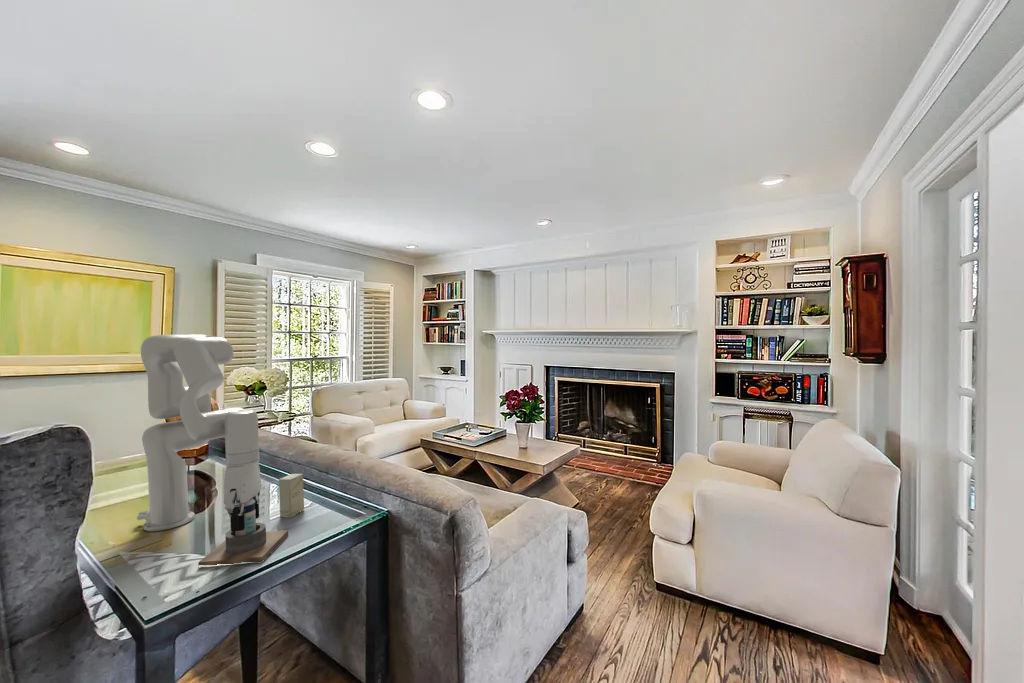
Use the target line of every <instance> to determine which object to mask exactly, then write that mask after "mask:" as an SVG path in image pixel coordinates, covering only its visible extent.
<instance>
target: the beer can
mask: <svg viewBox="0 0 1024 683" xmlns="http://www.w3.org/2000/svg"><path fill="white" fill-rule="evenodd" d="M235 503H240V501H235ZM235 508H237V509H238V510H239V506H235ZM243 514H244V516H245V529H244V530H243V531H235V536H243V535H247V534H250V533H253V532H255V531H256V523H257V519H256V511H255V500H254V499H253V498H251V499H250V500H249V501H247V502H246V503H244V509H243Z"/></svg>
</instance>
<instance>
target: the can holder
mask: <svg viewBox="0 0 1024 683" xmlns="http://www.w3.org/2000/svg"><path fill="white" fill-rule="evenodd" d="M288 536H289V530H287V529H285V530H275V531H274V530H273V531H267V526H266V524H265V523H264V522H262V523H261V522H256V531H255V532H253V533H250V534H247V535H243V536H235V531H231V529H229V530H228V531H227V532H226V533H225V535H224V537H225V538H224V539H225V540H224V541H223V542H222V543H220V544H219V545H218V546H217V547H215V548H214V549H212V550H211V551H210V552H209V553H208V554H207V555H205V556H204V557H203V558H202V559H201V560H199V561H198V566H199V565H217V564H234V563H241V562H262V561H263V560H264V559H265V558H266V557H267V556H268V555H269V554H270V553H271V552H272V551H273V550H274V549H275V548H276V547H277V546H278V545H279V544H280V543H281V542H284V540H285V539H286V538H287V537H288ZM281 544H282V543H281ZM281 544H280V545H281ZM280 545H279V546H280ZM279 546H278V547H279ZM278 547H277V548H278ZM277 548H276V549H277ZM276 549H275V550H276ZM275 550H274V551H275ZM274 551H273V552H274ZM273 552H272V553H273ZM272 553H271V554H272ZM271 554H270V555H271ZM270 555H269V556H270ZM269 556H268V557H269ZM268 557H267V558H268ZM267 558H266V559H267ZM266 559H265V560H266Z"/></svg>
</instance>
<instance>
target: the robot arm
mask: <svg viewBox="0 0 1024 683" xmlns="http://www.w3.org/2000/svg"><path fill="white" fill-rule="evenodd" d="M140 358H141V361H142V364H143V367H144V369H145V371H146V375H147V401H148V402H147V407H148V412H149V415H150V416H151V417H152V418H153V419H156V420H164V419H165V420H166V419H173V418H174V419H175V418H180V419H181V420H174V421H168V422H162V423H158V424H155V425H152V426H149V427H148V428H147V429H145V430H144V431H143V433H142V438H141V442H142V446H143V450H144V454H145V458H146V465H147V466H146V468H147V482H148V483H147V485H148V486H147V488H148V510H141V511H139V513H138V516H137V518H136V520H138V521H142V520H145V522H144V524H143V526H142V528H143V530H144V531H145V530H146V532H158V531H166V530H169V529H173V528H177V527H180V526H183V525H185V524H187V523H189V522H192V521H193V520H195V518H196V515H195V514H196V513H195V512H194V511H190V510H189V493H188V492H189V491H188V490H189V489H188V468H187V463H186V461H185V459H184V458H182V457H181V455H179V454H178V453H177V452H180V451H184V450H188V449H193V448H199V447H202V446H205V445H206V444H208V442H210V440H215V439H216V440H217V439H221V438H224V442H225V445H224V446H225V466H226V468H225V471H224V472H225V473H224V478H223V479H224V481H223V505H224V509H225V510H226V511H227V513H228V517H229V519H230V530H231V531H243V530H244V529H245V516H244V514H243V509H244V503H246V502H247V501H249V500H250V499H251V498H253V499H254V500H255V511H256V520H258V519H259V518H260V504H259V503H260V495H261V488H262V479H261V469H260V464H259V463H260V442H259V441H260V440H259V439H260V438H259V435H260V434H259V416H258V413H257V411H255V410H251V409H249V410H248V409H247V410H246V409H244V408H241V407H233V408H232V407H231V408H224V409H218V410H212V400H211V395H210V393H211V392H214V391H215V390H217V389H218V388H219V387H220V386H221V385H223V383H224V380H225V376H224V374H223V373H222V371H221V369H220V366H219V365H221V366H222V365H227V364H229V363H230V362H232V360H233V358H234V350H233V346H232V344H231V343H230V342H229V341H228V339H227V338H224V337H220V336H216V335H210V334H209V335H208V334H158V335H153V336H149V337H146V338H145V339H144V340H143V341H142V343H141V347H140ZM176 363H177V364H178V365H177V364H176ZM183 377H184V378H183ZM183 379H184V380H185V381H186V384H187V385H188V386H184V380H183ZM236 501H240V503H236ZM235 506H239V510H238V509H237V508H235Z"/></svg>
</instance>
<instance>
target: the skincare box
mask: <svg viewBox="0 0 1024 683" xmlns="http://www.w3.org/2000/svg"><path fill="white" fill-rule="evenodd" d="M278 494H279V496H278V497H279V517H280V518H293V517H295V516H296V514H297V515H298V513H299V512H300V511H302V510H303V509H304V510H305V494H304V474H303V473H290V474H288V475H286V476H283V477H280V478H278ZM302 512H303V511H302ZM300 513H301V512H300ZM300 513H299V514H300Z"/></svg>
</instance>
